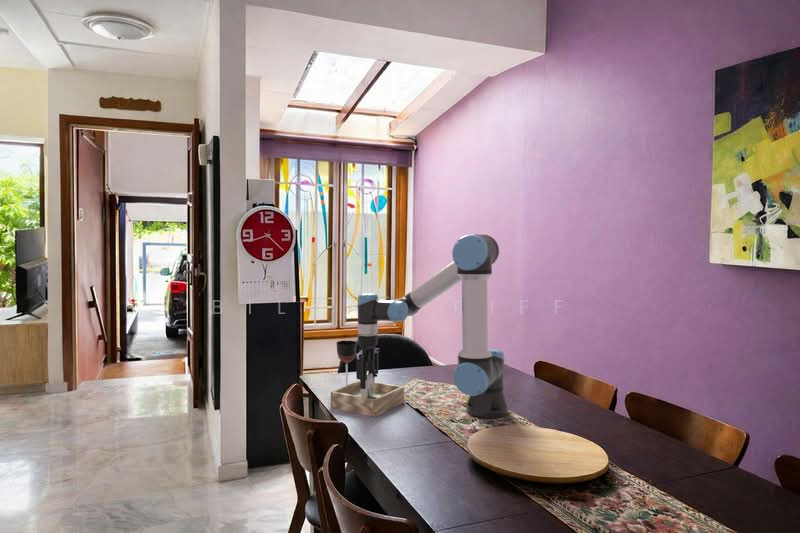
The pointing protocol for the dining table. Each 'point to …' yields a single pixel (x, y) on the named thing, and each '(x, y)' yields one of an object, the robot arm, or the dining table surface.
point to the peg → (370, 385)
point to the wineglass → (346, 353)
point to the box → (367, 399)
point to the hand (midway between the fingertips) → (367, 395)
